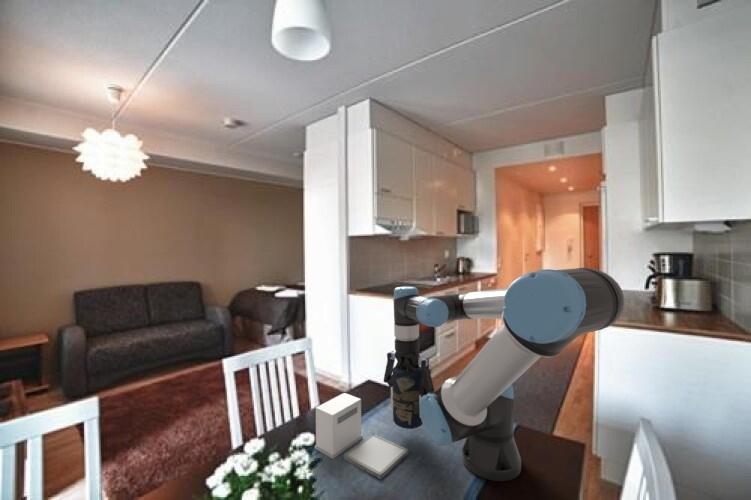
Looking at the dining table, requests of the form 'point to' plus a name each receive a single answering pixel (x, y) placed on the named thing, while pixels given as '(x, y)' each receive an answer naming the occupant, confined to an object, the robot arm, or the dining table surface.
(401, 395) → the canister
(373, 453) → the mat
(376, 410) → the dining table surface
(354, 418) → the unit
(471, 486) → the dining table surface
